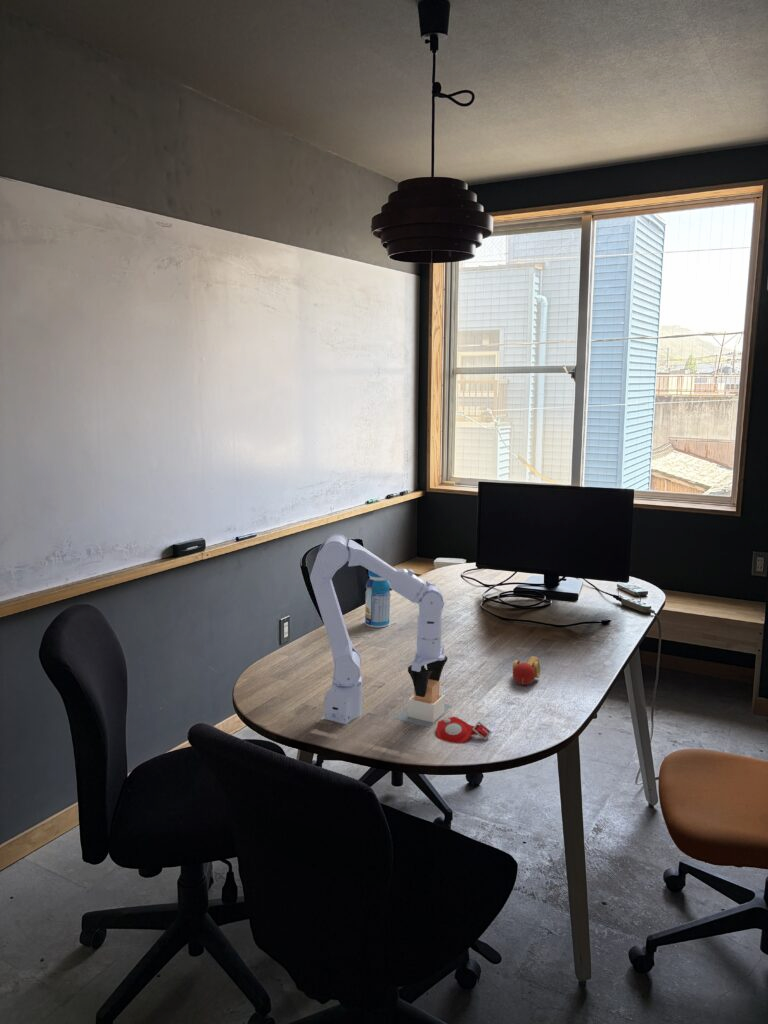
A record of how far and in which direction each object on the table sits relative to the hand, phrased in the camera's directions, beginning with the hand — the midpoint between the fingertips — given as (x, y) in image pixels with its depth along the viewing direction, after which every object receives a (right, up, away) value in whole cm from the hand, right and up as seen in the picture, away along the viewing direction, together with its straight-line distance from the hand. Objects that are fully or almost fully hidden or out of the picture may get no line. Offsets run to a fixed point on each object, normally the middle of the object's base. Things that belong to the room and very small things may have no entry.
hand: (427, 690), depth 182 cm
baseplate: (-1, -7, +2) cm, 7 cm away
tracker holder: (+7, -9, -9) cm, 15 cm away
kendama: (+30, -3, +30) cm, 42 cm away
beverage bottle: (-13, +5, +72) cm, 73 cm away
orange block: (0, -3, 0) cm, 2 cm away
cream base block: (0, -6, +1) cm, 6 cm away
